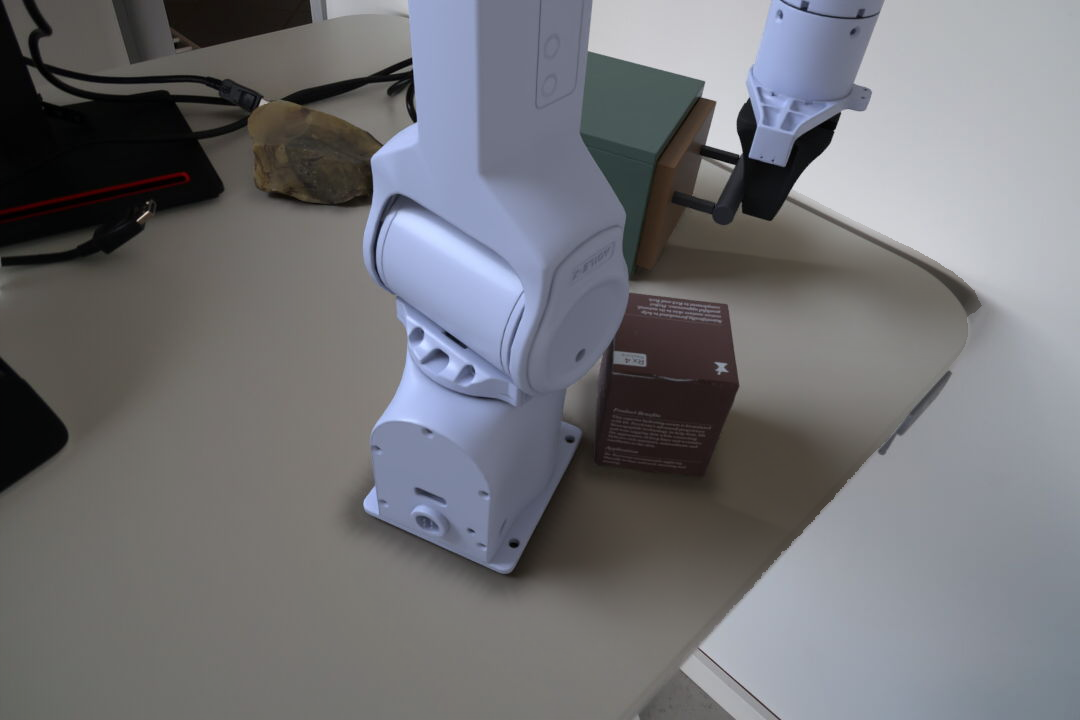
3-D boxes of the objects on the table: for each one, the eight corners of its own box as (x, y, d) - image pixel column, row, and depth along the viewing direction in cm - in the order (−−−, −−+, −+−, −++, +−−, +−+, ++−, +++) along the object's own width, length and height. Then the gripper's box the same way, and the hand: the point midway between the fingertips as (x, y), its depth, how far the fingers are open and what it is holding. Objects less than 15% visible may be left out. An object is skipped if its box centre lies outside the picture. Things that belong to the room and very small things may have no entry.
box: (698, 398, 43) (732, 302, 38) (705, 482, 39) (743, 387, 33) (595, 384, 43) (614, 287, 38) (589, 467, 39) (610, 370, 33)
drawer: (743, 212, 56) (775, 116, 50) (710, 289, 49) (742, 187, 43) (543, 153, 59) (552, 57, 54) (485, 216, 53) (489, 114, 47)
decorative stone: (401, 151, 60) (399, 110, 57) (365, 214, 53) (361, 170, 51) (277, 133, 60) (269, 91, 58) (225, 192, 54) (214, 148, 51)
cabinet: (676, 199, 58) (705, 80, 51) (629, 280, 50) (656, 153, 43) (520, 152, 61) (528, 35, 54) (453, 222, 53) (452, 95, 47)
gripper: (889, 63, 34) (798, 291, 44) (913, -23, 44) (834, 179, 53) (740, 30, 36) (684, 255, 45) (795, -46, 45) (739, 153, 55)
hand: (758, 212), depth 49 cm, fingers closed, pressing on drawer
